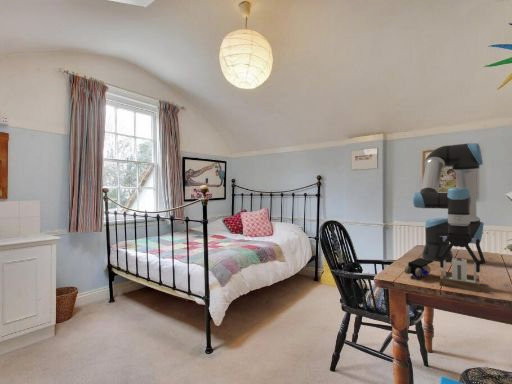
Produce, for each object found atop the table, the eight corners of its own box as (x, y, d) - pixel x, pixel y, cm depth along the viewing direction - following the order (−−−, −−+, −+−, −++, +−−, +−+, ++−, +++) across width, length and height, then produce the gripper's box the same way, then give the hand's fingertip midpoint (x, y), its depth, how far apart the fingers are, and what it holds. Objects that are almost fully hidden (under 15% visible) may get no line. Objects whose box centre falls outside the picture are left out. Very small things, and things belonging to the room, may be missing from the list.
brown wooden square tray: (441, 277, 125) (441, 271, 125) (478, 283, 117) (478, 276, 117) (439, 285, 114) (439, 278, 114) (480, 292, 107) (480, 284, 107)
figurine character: (420, 284, 120) (434, 274, 129) (419, 267, 119) (433, 258, 128) (404, 281, 125) (419, 271, 134) (403, 264, 125) (418, 256, 134)
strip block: (452, 279, 119) (452, 256, 119) (466, 281, 116) (466, 258, 116) (451, 282, 115) (451, 259, 115) (467, 284, 112) (466, 260, 112)
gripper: (426, 223, 119) (427, 275, 119) (494, 227, 106) (495, 285, 106) (428, 222, 125) (429, 271, 125) (492, 225, 112) (493, 280, 112)
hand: (459, 277), depth 116 cm, fingers open, 10 cm apart
